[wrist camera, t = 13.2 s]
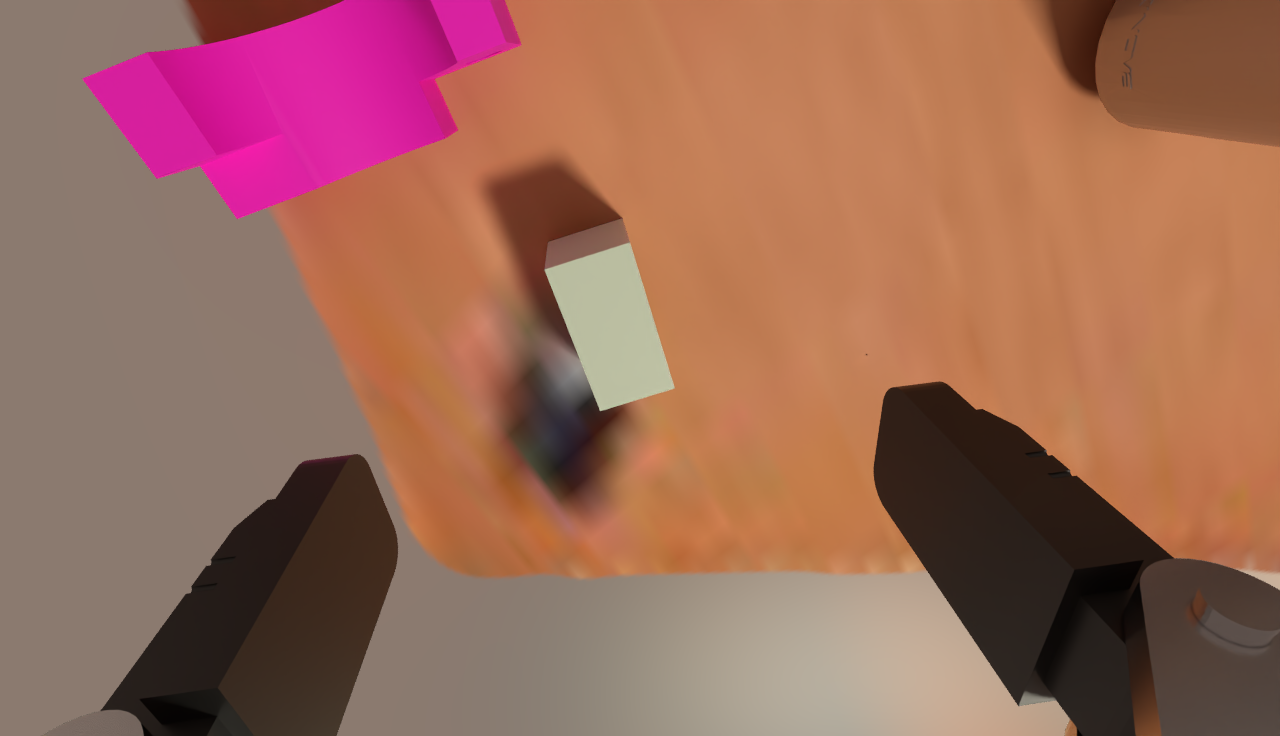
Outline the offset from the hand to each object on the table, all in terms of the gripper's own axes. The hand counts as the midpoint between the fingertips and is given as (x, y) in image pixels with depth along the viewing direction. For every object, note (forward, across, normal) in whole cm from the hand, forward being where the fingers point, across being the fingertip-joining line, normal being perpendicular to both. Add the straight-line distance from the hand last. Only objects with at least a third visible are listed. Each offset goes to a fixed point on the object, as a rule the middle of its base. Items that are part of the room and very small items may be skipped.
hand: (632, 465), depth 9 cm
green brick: (+21, 0, +8) cm, 22 cm away
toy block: (+26, +10, -5) cm, 28 cm away
